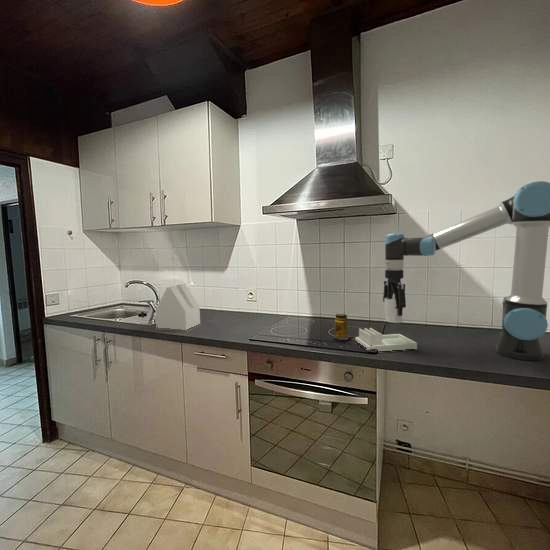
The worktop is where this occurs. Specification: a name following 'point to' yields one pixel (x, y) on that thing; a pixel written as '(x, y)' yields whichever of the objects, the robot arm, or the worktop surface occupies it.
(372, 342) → the dish rack
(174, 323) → the white house-shaped block
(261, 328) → the worktop surface
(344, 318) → the condiment
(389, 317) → the white cup
